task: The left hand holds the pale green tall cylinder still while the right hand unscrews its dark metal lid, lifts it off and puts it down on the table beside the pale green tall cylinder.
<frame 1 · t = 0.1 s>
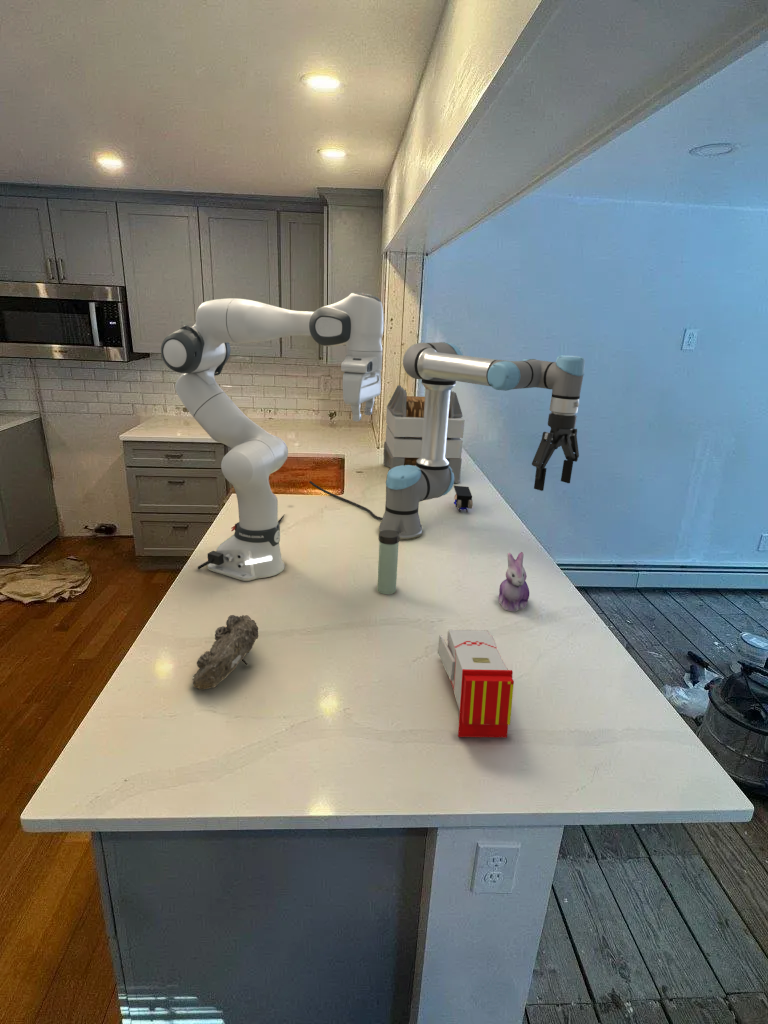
left hand: (362, 417, 146), 48 cm above the counter, tool pointing down, fingers open, 8 cm apart
right hand: (552, 485, 166), 28 cm above the counter, tool pointing down, fingers open, 13 cm apart
lid: (389, 534, 154), point 17 cm above the counter, screwed on, not yet turned
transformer: (419, 473, 275), on the counter
fossil: (230, 663, 124), on the counter
pale green tall cylinder: (386, 589, 160), on the counter
toy: (469, 691, 119), on the counter
figurine character: (461, 508, 229), on the counter
feather: (282, 518, 209), on the counter
figurine: (513, 604, 155), on the counter
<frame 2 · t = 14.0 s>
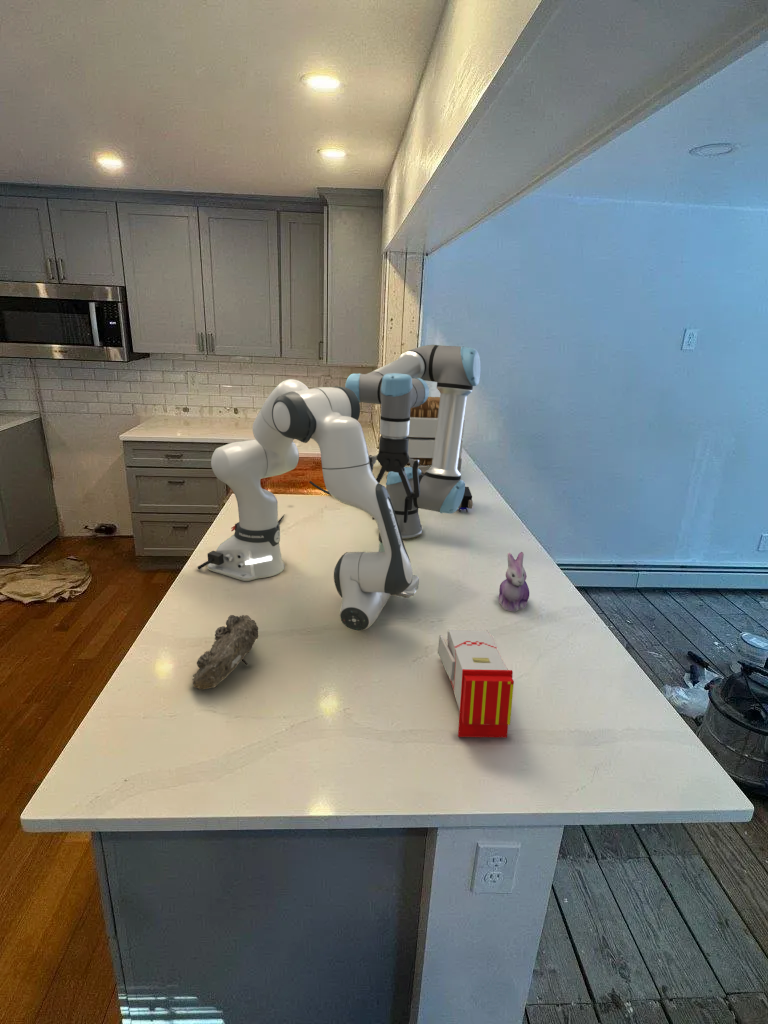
left hand: (388, 568, 159), 6 cm above the counter, tool horizontal, fingers closed on pale green tall cylinder, 5 cm apart
right hand: (390, 519, 153), 21 cm above the counter, tool pointing down, fingers open, 8 cm apart
pale green tall cylinder: (386, 589, 160), on the counter, touching left hand
everything else where it was.
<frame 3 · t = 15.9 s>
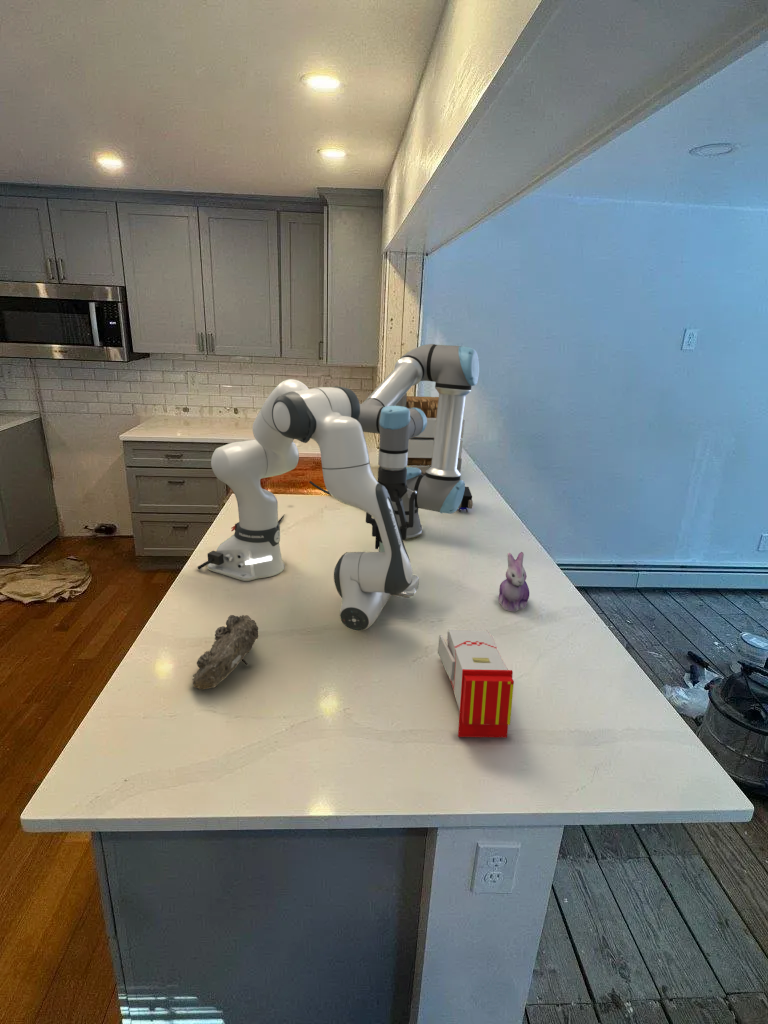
left hand: (388, 568, 159), 6 cm above the counter, tool horizontal, fingers closed on pale green tall cylinder, 5 cm apart
right hand: (388, 548, 155), 13 cm above the counter, tool pointing down, fingers closed on lid, 6 cm apart
lid: (389, 534, 154), point 17 cm above the counter, screwed on, not yet turned, touching right hand
pale green tall cylinder: (386, 589, 160), on the counter, touching left hand
everything else where it was.
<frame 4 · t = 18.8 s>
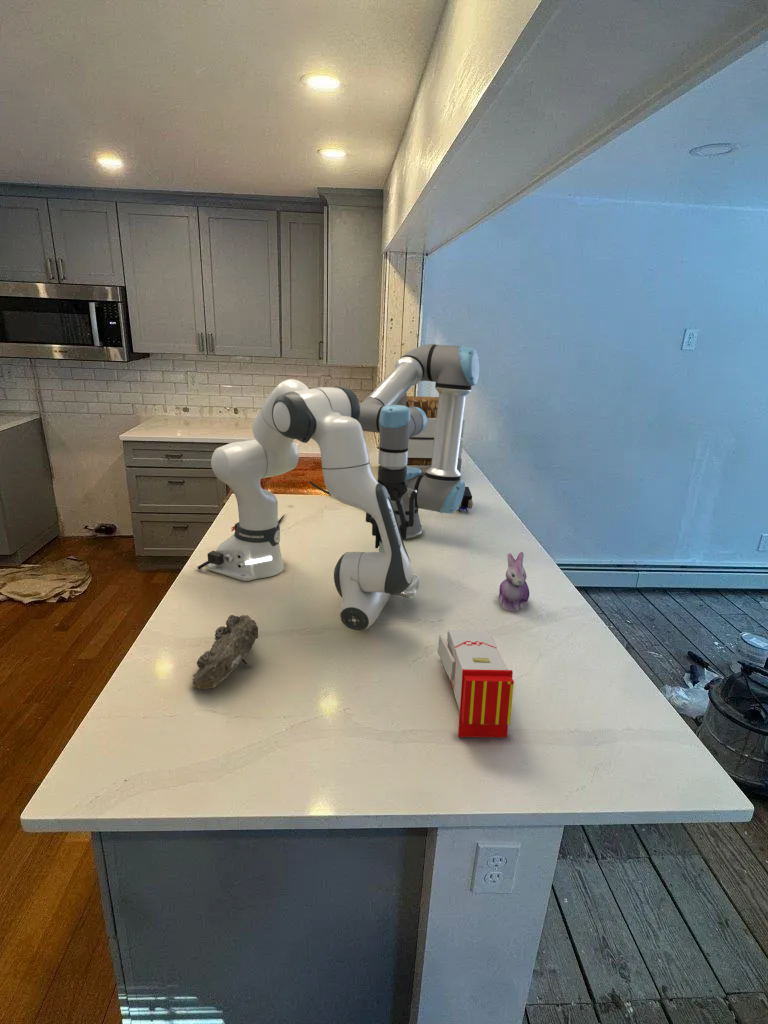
left hand: (388, 568, 159), 6 cm above the counter, tool horizontal, fingers closed on pale green tall cylinder, 5 cm apart
right hand: (388, 547, 155), 13 cm above the counter, tool pointing down, fingers closed on lid, 6 cm apart
lid: (389, 533, 154), point 17 cm above the counter, turned 86° so far, risen 0.3 cm, still on its thread, touching right hand
pale green tall cylinder: (386, 589, 160), on the counter, touching left hand
everything else where it was.
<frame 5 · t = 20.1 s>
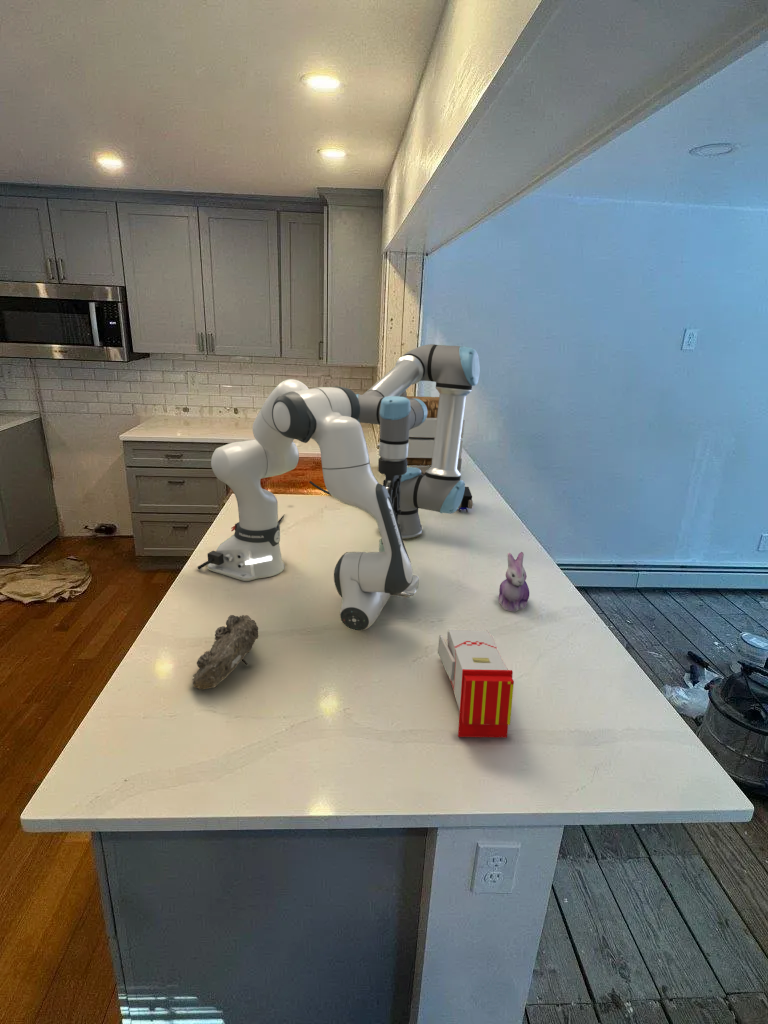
left hand: (388, 568, 159), 6 cm above the counter, tool horizontal, fingers closed on pale green tall cylinder, 5 cm apart
right hand: (389, 539, 155), 15 cm above the counter, tool pointing down, fingers closed on lid, 6 cm apart
lid: (390, 526, 154), point 19 cm above the counter, off its thread, touching right hand
pale green tall cylinder: (386, 589, 160), on the counter, touching left hand
everything else where it was.
when the right hand's fingers open (0 cm above the counter, at t = 25.0 s): lid stays where it is, point 2 cm above the counter.
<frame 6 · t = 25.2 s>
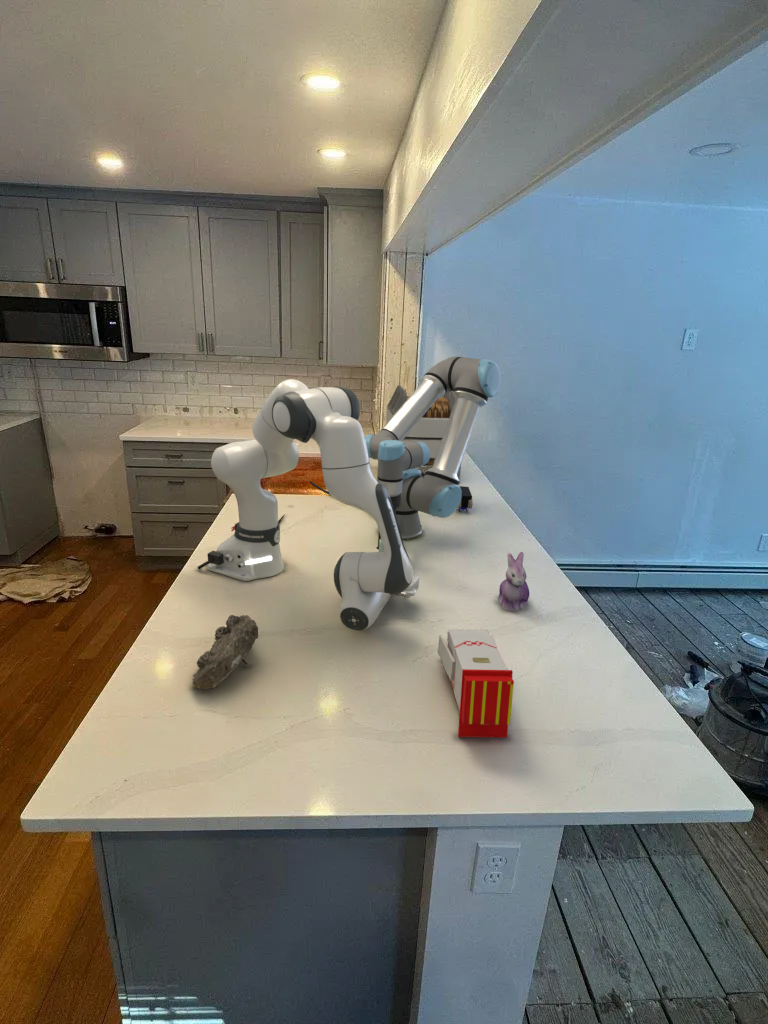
left hand: (388, 568, 158), 6 cm above the counter, tool horizontal, fingers closed on pale green tall cylinder, 5 cm apart
right hand: (385, 563, 176), 0 cm above the counter, tool pointing down, fingers open, 6 cm apart
lid: (385, 559, 176), point 2 cm above the counter, off its thread
pale green tall cylinder: (386, 590, 160), on the counter, touching left hand
everything else where it was.
when the left hand's fingers open (6 cm above the counter, at t = 26.1 s): pale green tall cylinder stays where it is, on the counter.
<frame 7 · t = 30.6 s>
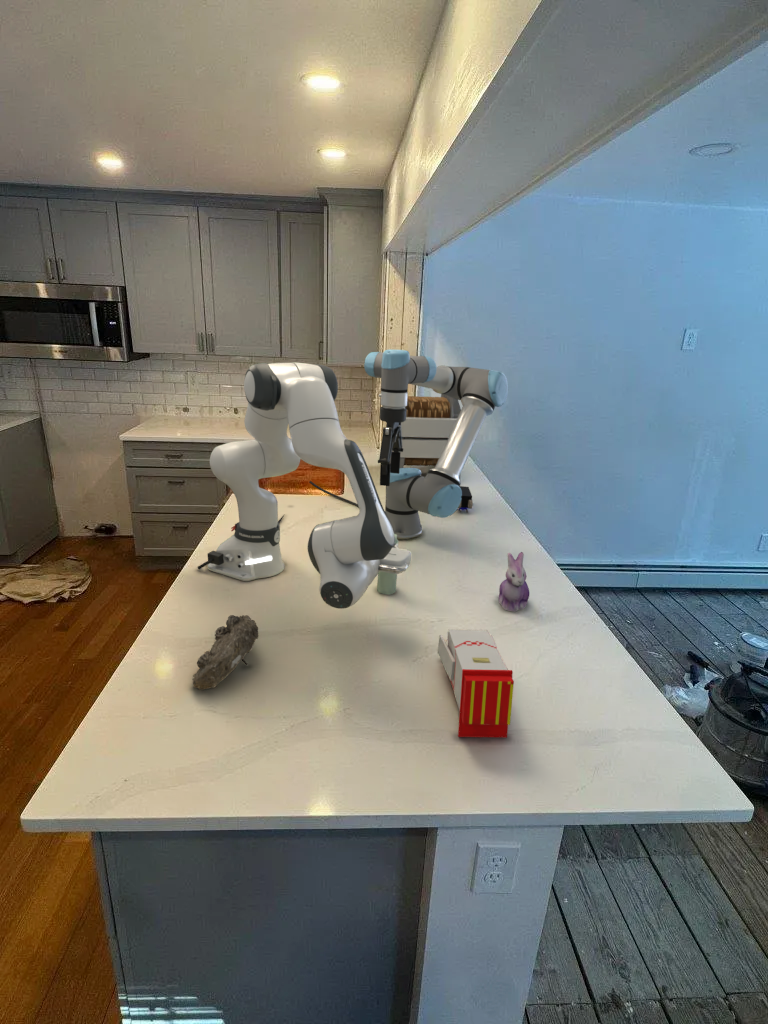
left hand: (377, 543, 143), 19 cm above the counter, tool horizontal, fingers open, 8 cm apart
right hand: (389, 479, 167), 27 cm above the counter, tool pointing down, fingers open, 13 cm apart
pale green tall cylinder: (386, 590, 160), on the counter
everything else where it was.
at the end: lid came off its thread; lid point 1.6 cm above the counter; the left hand is holding nothing; the right hand is holding nothing; pale green tall cylinder tilted 0°; pale green tall cylinder moved 0.1 cm from its start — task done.
